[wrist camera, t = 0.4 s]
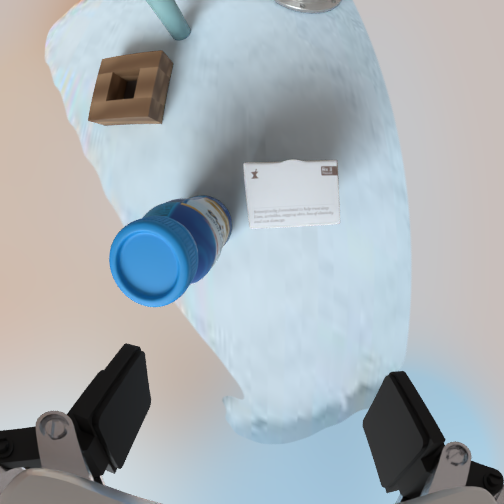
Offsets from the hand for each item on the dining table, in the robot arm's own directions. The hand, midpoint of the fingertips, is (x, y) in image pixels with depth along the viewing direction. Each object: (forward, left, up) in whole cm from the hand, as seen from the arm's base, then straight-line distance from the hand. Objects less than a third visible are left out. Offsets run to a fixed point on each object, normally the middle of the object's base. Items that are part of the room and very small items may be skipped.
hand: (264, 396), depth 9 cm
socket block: (-20, -22, -30) cm, 42 cm away
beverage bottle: (-1, -9, -30) cm, 31 cm away
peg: (-31, -17, -30) cm, 46 cm away
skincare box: (-7, +1, -30) cm, 31 cm away
